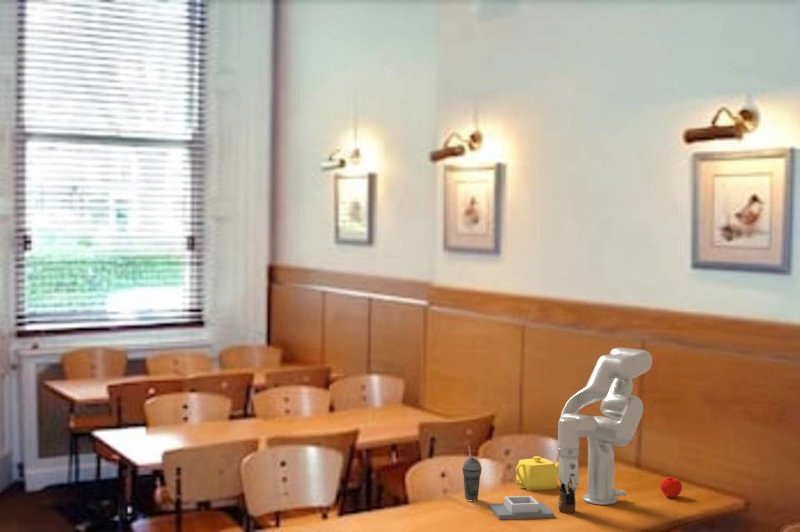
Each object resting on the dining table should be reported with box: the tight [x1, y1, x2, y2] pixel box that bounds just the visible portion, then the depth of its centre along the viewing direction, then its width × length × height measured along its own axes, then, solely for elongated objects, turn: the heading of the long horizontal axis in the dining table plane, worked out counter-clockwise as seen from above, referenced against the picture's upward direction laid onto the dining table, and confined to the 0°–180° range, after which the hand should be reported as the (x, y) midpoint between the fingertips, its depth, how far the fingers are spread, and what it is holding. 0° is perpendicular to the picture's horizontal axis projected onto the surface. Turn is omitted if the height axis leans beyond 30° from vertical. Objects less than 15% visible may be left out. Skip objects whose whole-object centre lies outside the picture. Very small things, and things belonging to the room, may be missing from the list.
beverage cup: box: [461, 445, 483, 502], centre depth 361 cm, size 7×7×20 cm
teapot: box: [515, 455, 559, 491], centre depth 382 cm, size 20×12×12 cm, turn 110°
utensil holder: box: [558, 483, 576, 514], centre depth 348 cm, size 6×6×12 cm
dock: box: [488, 495, 555, 520], centre depth 346 cm, size 20×14×4 cm
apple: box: [659, 477, 683, 499], centre depth 370 cm, size 8×8×7 cm
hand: (567, 501), depth 349 cm, fingers closed on utensil holder, 5 cm apart
